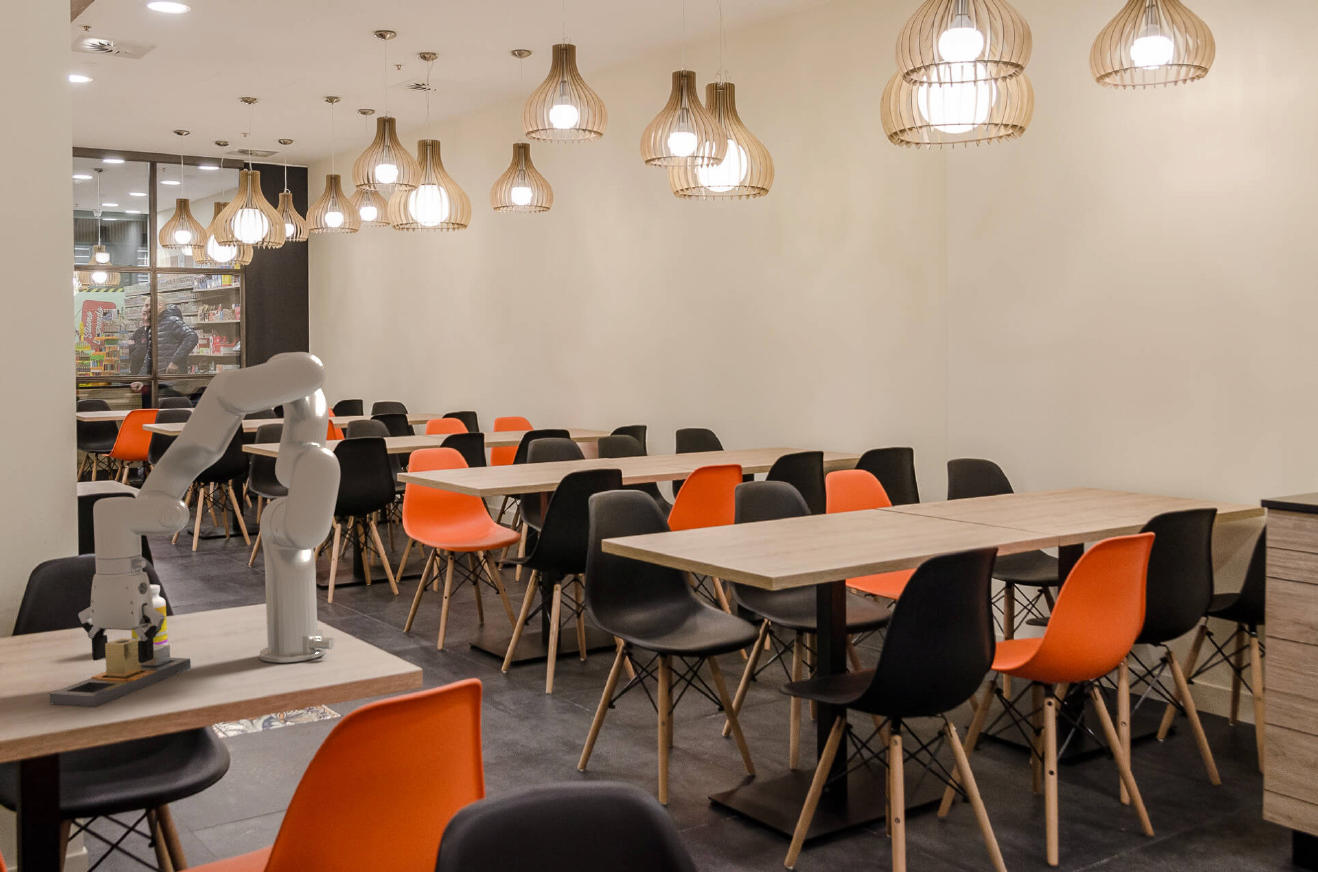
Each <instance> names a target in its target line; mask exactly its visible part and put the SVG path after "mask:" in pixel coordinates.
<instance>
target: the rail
mask: <svg viewBox="0 0 1318 872" xmlns="http://www.w3.org/2000/svg"><path fill="white" fill-rule="evenodd" d="M191 666H192V665H191V658H188V657H187V658H186V657H185V658H184V657H170V663H169V664H166V665H164V666H161V667H159V668H144V667H141V673H140V674H138V675H135V676H133V677H130V678H127V679H118V678H107V674H106V671H104V672H100V673H99V674H95V675H93V676H91V677H90V678H88V679H85V680H82V681H79V682H77V683H74V684H71V685H69V686H67V687H63V688H60V689H58V690H55V691H52V692H50V693H49V704H50V703H54V704H53V705H60V704H63V705H64V706H75V705H80V706H79V707H91V708H92V707H93V708H95V707H97V705H98V706H100V705H103V704H105V703H108V702H110V701H113V700H116V699H118V698H120V697H122V696H125V695H127V694H130V693H132V692H135V691H137V690H139V689H143V688H145V687H147V686H150V685H152V684H154V683H157V682H160V681H162V680H165V679H167V678H168V677H171V676H174V675H177V674H179V673H182V672H184V671H187V670H188V669H189V670H190V669H191V668H192V667H191Z"/></svg>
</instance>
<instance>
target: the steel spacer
mask: <svg viewBox="0 0 1318 872" xmlns="http://www.w3.org/2000/svg"><path fill="white" fill-rule="evenodd" d="M153 648H154V658H153V659H152V660H150V661H147V662H144V663H141V667H144V668H159V667H161V666H164V665H166V664H169V663H170V658H171V647H170V645H169V644H167V645H157V644H153Z"/></svg>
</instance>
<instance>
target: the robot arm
mask: <svg viewBox="0 0 1318 872" xmlns="http://www.w3.org/2000/svg"><path fill="white" fill-rule="evenodd" d="M325 380H326V368H325V365H324V363H323V362H322V361H321V359H320V358H319V357H317V356H316V355H315V354H312V353H310V352H306V351H296V352H295V351H294V352H293V351H292V352H282V353H278V354H275V355H273V356H272V357H270V358H269V359H268V360H267V361H266V362H263V363H260V364H257V365H256V364H255V365H253V366H249V367H243V368H230V369H225V370H221V371H220V372H218V373H216V375H214V377H213V378H212V379H211V380H210V382H208V383H209V384H208V385H207V387H206V388H205V390H204V392H203V393H202V395H201V397H200V399H199V400H198V402H197V404H196V405H195V408H194V409H193V411H192V412H191V414H190V416H189V418H188V419H187V421H186V423H185V424H184V426H183V428H182V429H181V431H180V433H179V434H178V436H177V437H176V438H175V440H173V442H172V443H171V444H170V445H169V447H168V448H167V449H166V451H165V452H164V453H163V455H162V456H161V457H160V458H159V460H157V462H156V463H155V465H154V467H153V468H152V470H151V471H150V472H149V473H148V476H147V478H146V479H145V481H144V483H143V484H142V486H141V488H140V490H139V491H138V493H137V494H136V497H131V496H116V497H115V496H114V497H112V496H111V497H105V498H100V499H98V500H96V501H95V502H94V504H93V511H92V513H93V533H94V555H95V560H94V561H95V573H94V575H93V577H92V584H91V593H90V606H89V607H87V608H85V609H83V610H82V611H80V612H78V615H77V616H78V618H79V620H80V622H81V624H82V628H83V629H84V630H85V632H86V633H87V637H88V639H91V655H92V657H91V658H92V661H100V660H102V659H104V658H105V659H106V651H105V644H106V643H109V642H108V635H107V634H105V633H106V631H107V630H115V631H117V630H119V631H131V630H134V631H135V632H136V634H137V635H138V636H139V638H140V639H141V640H140V641H138V661H139V663H144V662H147V661H150V660H152V659H153V658H154V648H153V638H155V637H156V634H157V633H158V632H159V631H160V630H161V626H162V624H163V621H164V619H165V616H164V615H163V614H162V613H160V612H158V611H157V610H155V609H154V608H153V600H152V593H151V587H150V585H151V583H150V579H149V576H148V573H147V572H146V571H143V569H144V568H145V567H146V566H147V562H146V560H143V555H142V550H143V548H142V536H171V535H175V534H177V533H179V532H180V531H182V530H183V529H184V528H185V527H186V526H187V524H188V522H189V520H190V509H189V507H188V505H187V504H186V502H185V501H184V500H183V497H184V495H185V493H186V492H187V490H188V489H189V487H190V486H191V484H192V483H193V482H194V481H195V480H196V478H197V477H198V476H199V475H200V474H201V473H203V472H204V471H205V470H206V469H209V468H210V467H211V466H213V465H214V464H215V463H216V462H218V461H219V460H220V459H221V458H222V457H223V456H224V454H225V453H226V451H227V449H228V447H229V445H230V444H231V443H232V440H233V438H234V436H235V435H236V433H237V431H238V429H239V428H240V426H241V423H242V422H243V420H244V419H245V417H246V415H249V414H250V415H251V414H254V413H259V412H262V411H267V410H270V409H272V408H277V407H280V406H282V408H283V409H282V410H283V423H282V431H281V437H280V441H279V447H278V450H277V451H278V452H277V457H276V461H275V462H276V463H275V466H274V467H275V468H274V469H275V470H274V471H275V473H274V474H275V476H276V479H277V481H278V482H279V484H281V485H282V486H283V487H285V488H287V489H288V491H287V496H281V497H277V498H275V499H273V500H271V501H270V502H269V503H267V505H266V506H265V507H264V508H263V509H262V513H261V515H260V518H259V519H260V521H259V531H260V538H261V545H262V549H263V557H264V559H263V560H264V575H265V577H264V579H265V581H264V582H265V583H264V584H265V601H266V602H265V605H266V607H265V609H266V610H265V611H266V632H267V633H266V635H267V640H266V641H267V647H265V648H263V649H261V650H260V651H259V658H260V660H261V661H264V662H268V663H297V662H304V661H309V660H313V659H317V658H320V657H321V656H324V655H326V653H327V650H333V648H335V647H334V646H335V638H334V637H325V636H323V635H324V634H323V629H321V630H320V629H318V607H317V606H318V605H317V603H318V602H317V578H316V577H317V568H316V567H317V566H316V558H315V551H314V549H316V548H317V547H319V546H321V545H322V544H323V542H325V541H326V539H327V538H328V536H329V534H330V531H331V528H332V525H333V521H334V514H335V510H336V505H337V500H338V494H339V488H340V483H341V466H340V462H339V459H338V458H337V456H336V454H335V453H334V452H333V451H332V450H331V449H330V448H328V447H327V446H326V444H327V437H328V428H329V420H330V413H329V403H328V400H327V398H326V396H325V393H324V391H323V390H322V386H323V385H324V383H325ZM150 624H152V626H151V625H150ZM142 628H143V629H144V630H145V631H146V632H145V631H144V630H143V629H142Z"/></svg>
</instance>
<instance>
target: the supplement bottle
mask: <svg viewBox="0 0 1318 872" xmlns="http://www.w3.org/2000/svg"><path fill="white" fill-rule="evenodd" d="M150 587H151V593H152V600H153V608H154V609H155V610H157V611H158V612H160V613H162V614H163V615H164V616H165V619H164V621H163V624H162V626H161V630H160V631H159V632H158V633H157V634H156V637H155V638H153V644H157V645H169V642H168V623H167V622H168V621H167V605H166V603H167V602H166V600H165V598H163V597H161V596H160V591H161V586H160V585H159V584H150ZM150 625H151V626H152V624H150ZM142 629H143V628H142ZM143 630H144V629H143ZM130 631H131V639H140V638H139V636H138V635H137V634H136V632H135V631H134V630H130ZM144 631H145V630H144ZM145 632H146V631H145ZM140 640H141V639H140Z"/></svg>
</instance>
